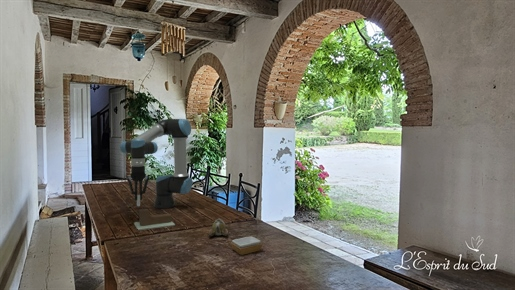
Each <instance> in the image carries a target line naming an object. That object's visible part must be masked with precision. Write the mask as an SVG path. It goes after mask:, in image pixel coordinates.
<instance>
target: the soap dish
mask: <svg viewBox="0 0 515 290" xmlns="http://www.w3.org/2000/svg"><path fill="white" fill-rule="evenodd" d="M230 245H231V248H232V250H233V251H235V252H236V253H237V254H238V255H241V256H243V255H246V254H252V253H254V252H260V251H261V249H262V246H263V245H264V244H263V243H262V242H261V239H259V238H256V237H254V236H253V235H252V236H251V235H250V236H246V237H241V238H236V239H233V240H231V242H230Z"/></svg>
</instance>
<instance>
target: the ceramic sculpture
mask: <svg viewBox="0 0 515 290" xmlns="http://www.w3.org/2000/svg"><path fill="white" fill-rule="evenodd" d="M226 225H227V224H226V223H225V222H224V220H223V219H221V218H218V219H215V221H214V222H213V223H212V227H211V228H210V229H209V230H208V234H207V235H208V236H209V237H213V236H224V237H227V236H228V234H229V229H227V228H226V227H227V226H226Z"/></svg>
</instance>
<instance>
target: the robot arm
mask: <svg viewBox="0 0 515 290" xmlns="http://www.w3.org/2000/svg"><path fill="white" fill-rule="evenodd" d="M191 132H192V125H191V122H190V121H189V120H188V119H186V118H165V119H163V120H160V121H158V122H155V124H152V126H151V128H149V129H147V130H146V131H144V132H143V133H141V134H139V135H137V136H136V137H134V138H133V139H131V140H129V141H128V140H126V141H122V142H121V143H120V145H119V149H120V152H121V153H122V154H127V155H128V154H130V156H131V158H130V159H131V160H130V164H131V167H130V169H131V170H130V174H129V175H130V176H128V177H126V181H127V182H128V186H129V189H130V192H131V194H132V195H134V200H135V201H136V206H137V207H140V206H141V201H142V200H143V194H146V191H147V187H148V184H149V180H150V179H151V178H150V176H149V175H148V176H147V174H146V166H145V165H146V155H153V154H156V153H157V152H158V149H159V148H158V144H157V142H155V140H156V139H157V138H161V137H162V136H171V139H172V140H173V155H174V156H173V158H174V160H173V161H174V164H173V165H174V173H173V174H164V175H158V176H157V177H156V179H155V186H156V187H155V198H154V203H153V208H155V209H171V208H174V207H175V206H176V203H175V199H174V196H173V194H181V195H183V194H188V193H190V191H191V190H192V188H193V178H191V177H190V174H189V173H188V171H187V169H188V167H187V165H188V163H187V161H188V160H187V139H188V138H189V136H191V134H192V133H191ZM144 179H145V180H144ZM143 180H144V184H143ZM132 181H133V182H134V187H133V184H132ZM138 183H139V184H138ZM138 186H139V187H138ZM138 188H139V190H138ZM138 191H139V193H138Z"/></svg>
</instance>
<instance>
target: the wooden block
mask: <svg viewBox="0 0 515 290" xmlns="http://www.w3.org/2000/svg"><path fill="white" fill-rule="evenodd" d="M138 211H139V213H138V214H139V221H138V222H140V225H141V226H145V225H153V224H161V223H168V222H171V221H172V214H171V213H161V214H154V215H153V214H150V212H149V209H148V208H141V209H139V210H138Z"/></svg>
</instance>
